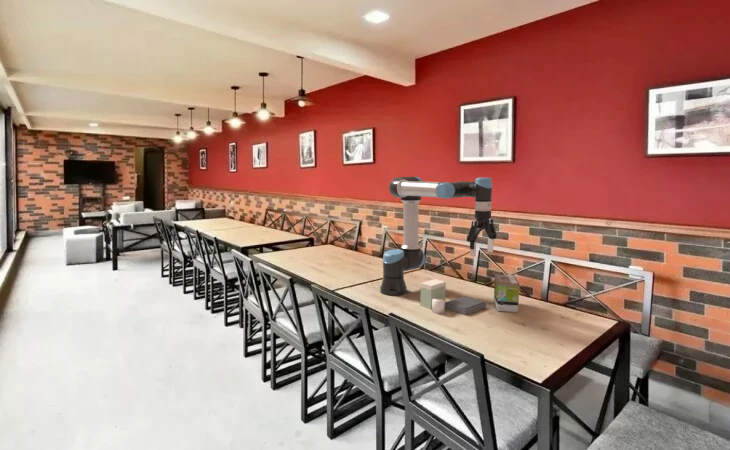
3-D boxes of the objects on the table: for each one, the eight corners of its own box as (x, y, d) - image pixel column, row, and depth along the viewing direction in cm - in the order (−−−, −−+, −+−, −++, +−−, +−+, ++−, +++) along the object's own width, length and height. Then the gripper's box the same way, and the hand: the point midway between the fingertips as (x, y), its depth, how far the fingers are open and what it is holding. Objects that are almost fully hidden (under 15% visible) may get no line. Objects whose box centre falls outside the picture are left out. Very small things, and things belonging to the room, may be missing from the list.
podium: (444, 307, 198) (444, 302, 198) (464, 301, 208) (464, 295, 207) (465, 315, 188) (465, 309, 188) (485, 307, 198) (485, 301, 197)
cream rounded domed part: (429, 311, 194) (429, 299, 193) (437, 308, 197) (437, 297, 197) (438, 314, 189) (438, 302, 188) (447, 311, 193) (447, 300, 192)
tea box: (518, 312, 191) (520, 282, 189) (496, 311, 193) (498, 281, 191) (513, 302, 205) (514, 274, 203) (493, 301, 207) (494, 273, 205)
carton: (420, 305, 202) (420, 282, 200) (435, 301, 209) (435, 279, 207) (430, 309, 196) (430, 286, 195) (445, 304, 203) (445, 281, 202)
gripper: (473, 212, 178) (471, 258, 181) (505, 208, 193) (503, 251, 196) (459, 211, 184) (458, 256, 187) (491, 207, 199) (490, 249, 202)
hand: (481, 253), depth 192 cm, fingers open, 13 cm apart
